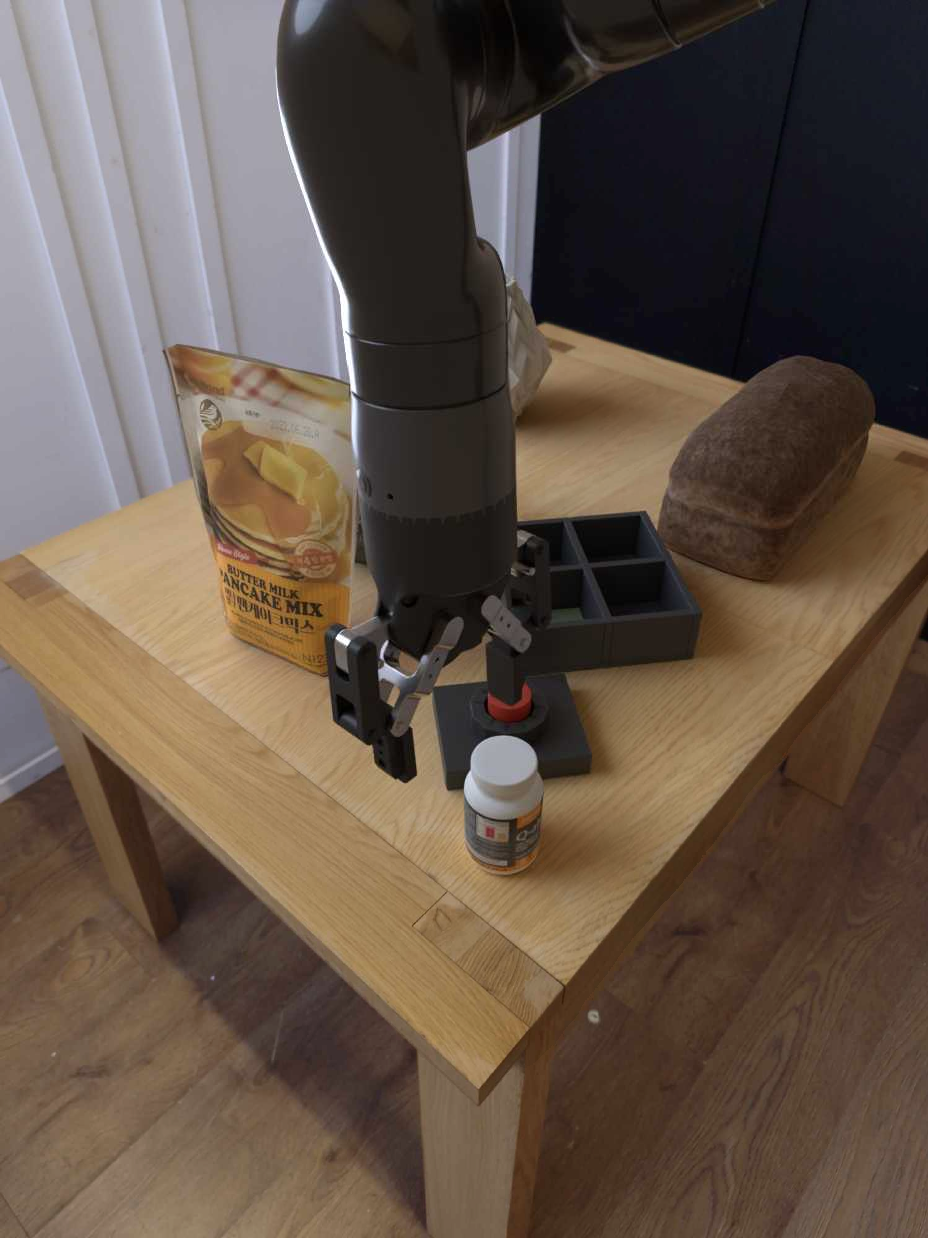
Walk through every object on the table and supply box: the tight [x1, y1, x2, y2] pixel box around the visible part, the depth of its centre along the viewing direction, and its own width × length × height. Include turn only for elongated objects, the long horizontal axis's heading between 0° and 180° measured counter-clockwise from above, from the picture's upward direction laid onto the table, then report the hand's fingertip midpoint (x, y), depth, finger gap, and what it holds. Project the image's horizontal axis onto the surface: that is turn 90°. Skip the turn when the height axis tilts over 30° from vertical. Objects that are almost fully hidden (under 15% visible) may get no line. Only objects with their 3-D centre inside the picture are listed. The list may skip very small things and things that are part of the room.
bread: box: [656, 354, 877, 581], centre depth 99 cm, size 15×32×16 cm, turn 143°
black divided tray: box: [500, 510, 703, 677], centre depth 88 cm, size 17×17×6 cm
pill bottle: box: [463, 736, 545, 876], centre depth 64 cm, size 6×6×10 cm
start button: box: [488, 683, 531, 723], centre depth 73 cm, size 4×4×2 cm
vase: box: [504, 272, 553, 422], centre depth 117 cm, size 16×16×18 cm
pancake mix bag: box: [161, 343, 360, 677], centre depth 78 cm, size 7×19×28 cm, turn 58°
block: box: [431, 672, 593, 791], centre depth 75 cm, size 12×10×4 cm
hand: (455, 734), depth 51 cm, fingers open, 8 cm apart
